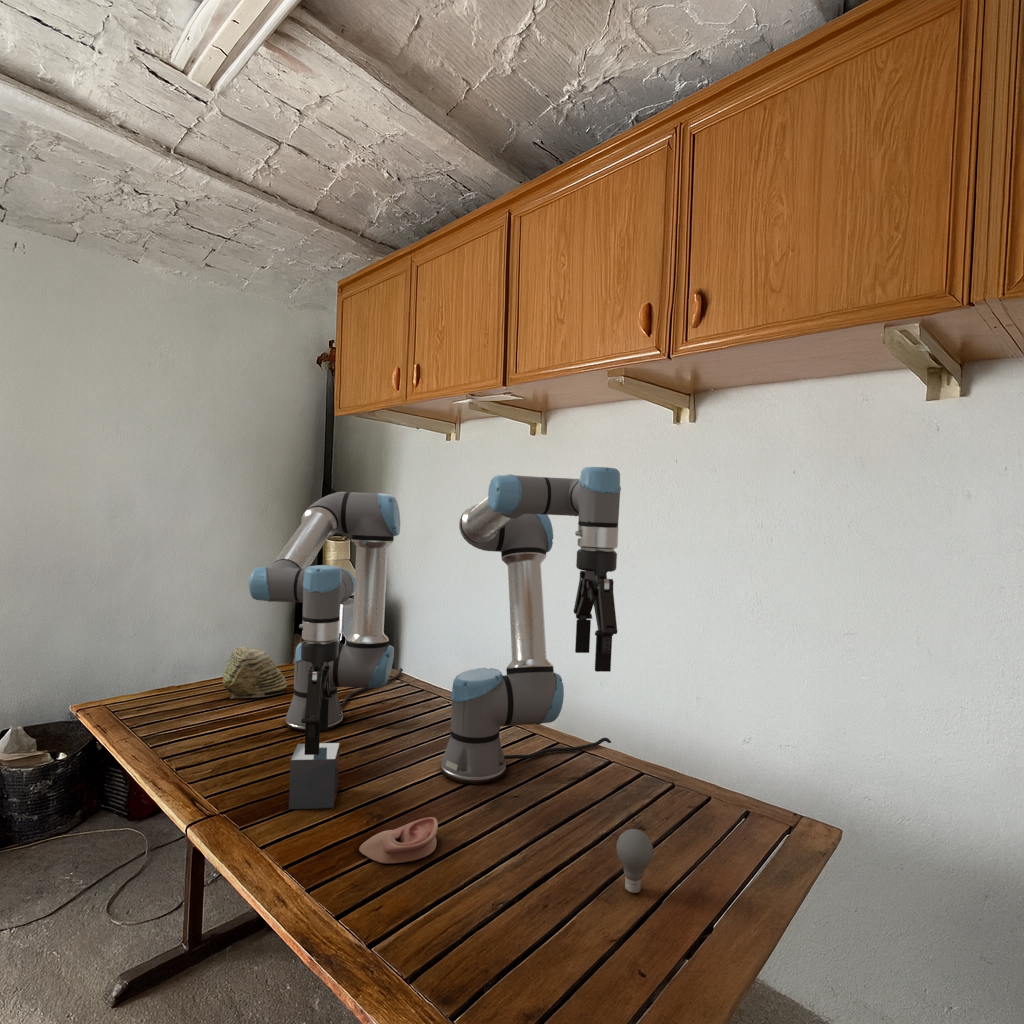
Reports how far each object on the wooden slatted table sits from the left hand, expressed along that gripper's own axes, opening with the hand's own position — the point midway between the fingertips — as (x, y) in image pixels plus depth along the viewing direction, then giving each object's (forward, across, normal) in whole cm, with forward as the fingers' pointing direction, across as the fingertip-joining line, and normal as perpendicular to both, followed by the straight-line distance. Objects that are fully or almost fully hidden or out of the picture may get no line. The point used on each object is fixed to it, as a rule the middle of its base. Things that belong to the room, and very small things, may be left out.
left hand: (316, 741), depth 133 cm
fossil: (+12, -71, -28) cm, 77 cm away
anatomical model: (+12, +20, +18) cm, 30 cm away
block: (+12, 0, 0) cm, 12 cm away
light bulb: (+12, +37, +56) cm, 69 cm away
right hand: (-22, +21, +52) cm, 61 cm away
